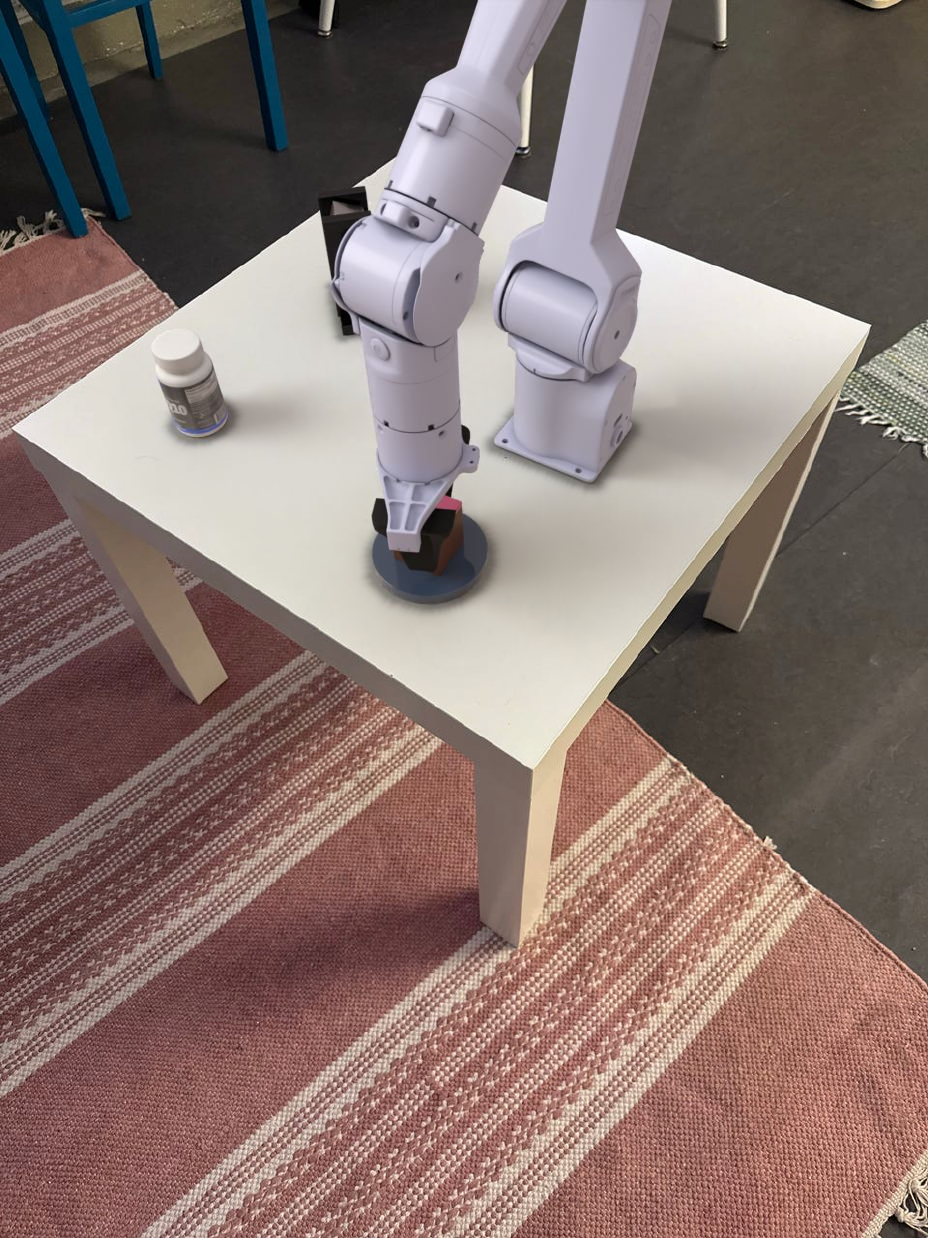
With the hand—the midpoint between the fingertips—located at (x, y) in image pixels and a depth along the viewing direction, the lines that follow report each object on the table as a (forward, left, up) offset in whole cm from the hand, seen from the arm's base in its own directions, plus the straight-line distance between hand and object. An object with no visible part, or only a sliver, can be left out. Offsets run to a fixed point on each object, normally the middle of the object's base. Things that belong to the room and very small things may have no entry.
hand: (428, 538), depth 70 cm
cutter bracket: (+23, -23, -2) cm, 33 cm away
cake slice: (0, 0, -1) cm, 1 cm away
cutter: (+20, -26, +4) cm, 33 cm away
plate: (0, 0, -2) cm, 2 cm away
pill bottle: (+26, -3, -2) cm, 26 cm away
